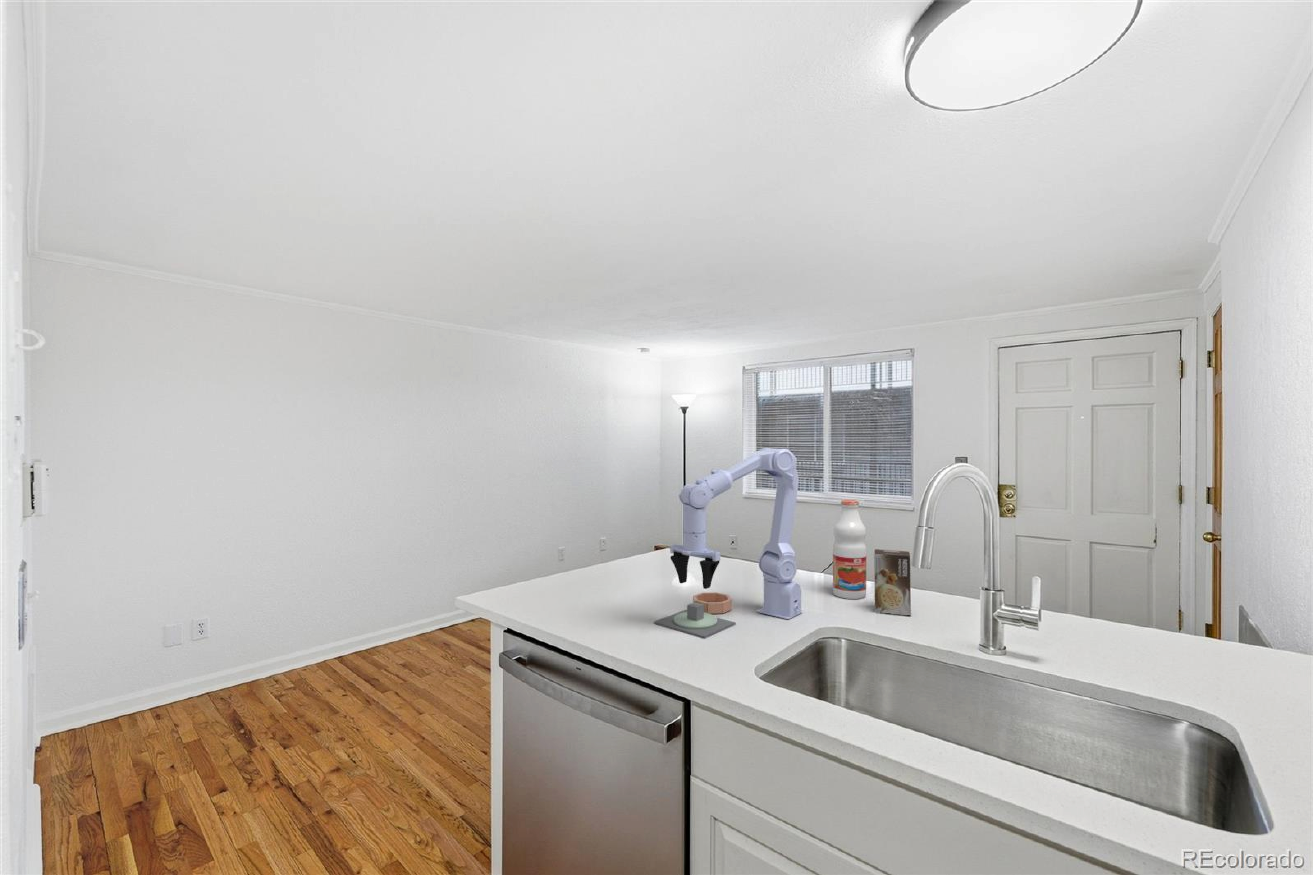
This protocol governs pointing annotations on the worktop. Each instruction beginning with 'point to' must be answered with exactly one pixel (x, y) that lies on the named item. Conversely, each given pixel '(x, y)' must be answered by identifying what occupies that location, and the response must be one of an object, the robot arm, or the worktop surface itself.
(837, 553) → the fruit juice
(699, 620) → the lid
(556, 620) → the worktop surface
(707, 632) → the mat
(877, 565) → the coffee box
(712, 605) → the bowl
